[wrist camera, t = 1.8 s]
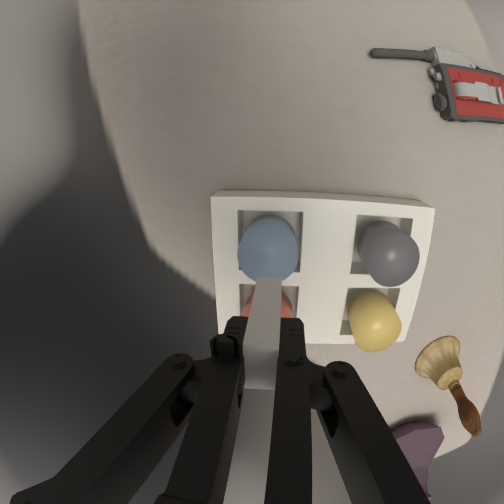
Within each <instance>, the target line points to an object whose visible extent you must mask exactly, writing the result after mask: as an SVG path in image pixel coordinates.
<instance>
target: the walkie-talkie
mask: <svg viewBox="0 0 504 504" xmlns="http://www.w3.org/2000/svg"><path fill="white" fill-rule="evenodd" d="M370 53H371V55H372V56H374V57H392V58H410V59H422V60H425V61H431V63H432V68H431V69H428V74H429V75H432V77H433V81H434V86H435V90H436V94H435V95H434V105H435V107H436V109H437V110H438V111H440V116H441V118H443V119H444V120H450V121H460V120H462V121H463V122H473V121H479V122H490V123H498V124H504V76H503V75H502V74H500V73H496V72H492V71H488V70H483V69H480V68H479V67H477V66H476V65H475V63H473V62H472V61H470V60H469V59H468V58H467V57H466V56H465V55H464V54H463V53H461V52H458V51H453V50H447V49H441V48H440V47H435V46H434V47H432V48H431V49H429V50H428V51H427V50H423V51H416V50H403V49H383V48H373V49H371V52H370Z"/></svg>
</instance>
